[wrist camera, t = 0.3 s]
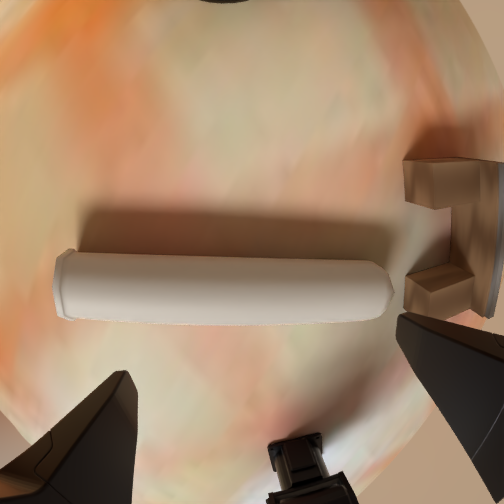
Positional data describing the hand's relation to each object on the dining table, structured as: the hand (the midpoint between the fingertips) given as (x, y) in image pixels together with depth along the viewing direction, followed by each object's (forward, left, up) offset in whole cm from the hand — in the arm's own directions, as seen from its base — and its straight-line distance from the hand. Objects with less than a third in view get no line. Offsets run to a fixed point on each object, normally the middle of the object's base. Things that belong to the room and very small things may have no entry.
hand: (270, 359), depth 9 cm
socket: (-3, -19, -14) cm, 24 cm away
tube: (-3, +1, -15) cm, 15 cm away
